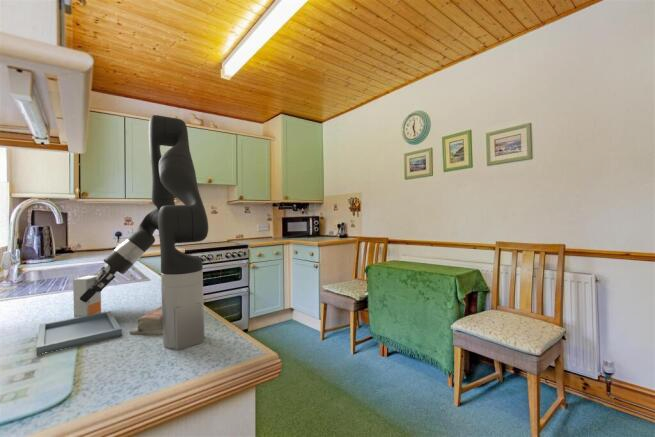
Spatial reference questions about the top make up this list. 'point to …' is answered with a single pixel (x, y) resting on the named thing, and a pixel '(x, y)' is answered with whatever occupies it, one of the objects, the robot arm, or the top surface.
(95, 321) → the tray
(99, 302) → the skincare box
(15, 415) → the top surface
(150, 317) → the packaged product
